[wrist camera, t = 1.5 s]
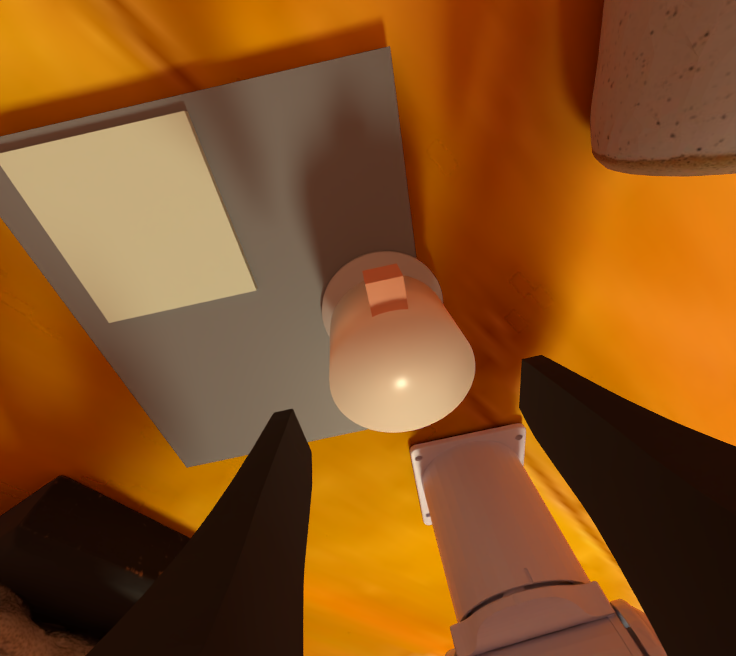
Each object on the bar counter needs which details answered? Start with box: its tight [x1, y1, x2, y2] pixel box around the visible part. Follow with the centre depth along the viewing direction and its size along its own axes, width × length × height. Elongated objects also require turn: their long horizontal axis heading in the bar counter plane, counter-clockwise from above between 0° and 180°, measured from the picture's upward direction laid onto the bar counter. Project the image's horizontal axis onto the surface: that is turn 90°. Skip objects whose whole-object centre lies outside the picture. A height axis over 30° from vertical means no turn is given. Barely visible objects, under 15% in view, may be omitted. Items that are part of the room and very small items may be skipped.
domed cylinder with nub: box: [329, 263, 475, 432], centre depth 13 cm, size 6×5×4 cm
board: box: [0, 46, 443, 467], centre depth 16 cm, size 18×17×3 cm
